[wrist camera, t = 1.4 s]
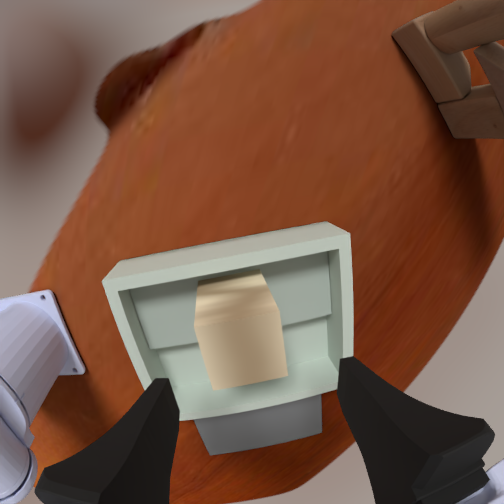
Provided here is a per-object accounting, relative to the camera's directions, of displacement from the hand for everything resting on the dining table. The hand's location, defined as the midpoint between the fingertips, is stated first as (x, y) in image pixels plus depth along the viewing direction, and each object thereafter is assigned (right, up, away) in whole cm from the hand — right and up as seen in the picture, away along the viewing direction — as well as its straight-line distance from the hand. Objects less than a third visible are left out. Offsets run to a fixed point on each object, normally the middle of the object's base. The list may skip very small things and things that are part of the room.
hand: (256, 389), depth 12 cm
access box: (-1, +1, +11) cm, 11 cm away
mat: (+1, -11, +14) cm, 18 cm away
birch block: (-1, +2, +8) cm, 9 cm away
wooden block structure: (+16, +21, +8) cm, 27 cm away
